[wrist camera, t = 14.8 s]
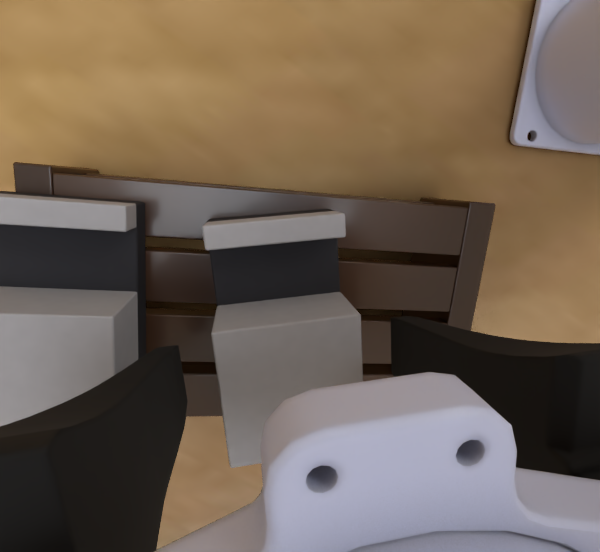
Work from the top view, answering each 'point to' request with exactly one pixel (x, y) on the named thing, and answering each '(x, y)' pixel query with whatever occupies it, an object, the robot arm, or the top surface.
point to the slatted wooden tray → (352, 272)
